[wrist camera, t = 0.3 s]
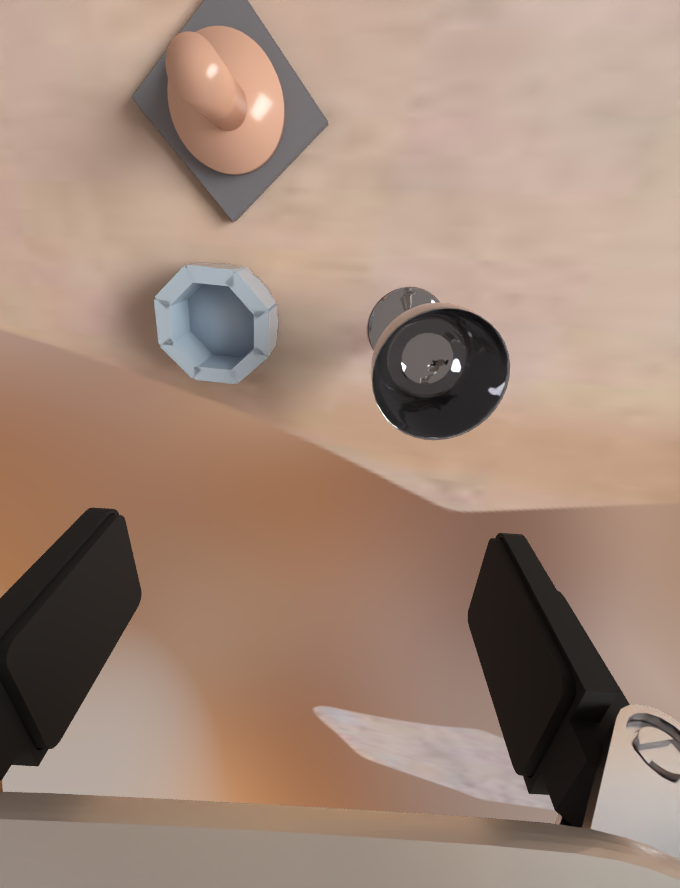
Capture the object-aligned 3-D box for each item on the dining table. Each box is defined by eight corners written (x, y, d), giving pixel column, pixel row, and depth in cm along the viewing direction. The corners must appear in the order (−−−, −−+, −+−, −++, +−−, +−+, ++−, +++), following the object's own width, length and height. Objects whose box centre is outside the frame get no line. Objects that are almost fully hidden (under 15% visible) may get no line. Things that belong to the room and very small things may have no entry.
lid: (227, 0, 26) (184, -85, 19) (308, 118, 29) (295, 81, 22) (151, 99, 29) (88, 55, 22) (231, 200, 31) (199, 189, 24)
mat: (231, -22, 26) (227, -31, 26) (328, 124, 30) (327, 120, 29) (137, 101, 29) (131, 97, 29) (235, 221, 33) (232, 220, 32)
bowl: (227, 239, 33) (208, 239, 29) (298, 325, 37) (291, 336, 32) (159, 310, 36) (132, 319, 32) (231, 383, 39) (216, 402, 35)
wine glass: (352, 356, 38) (353, 419, 24) (381, 269, 34) (401, 287, 21) (430, 381, 39) (472, 455, 25) (465, 298, 35) (537, 334, 22)
